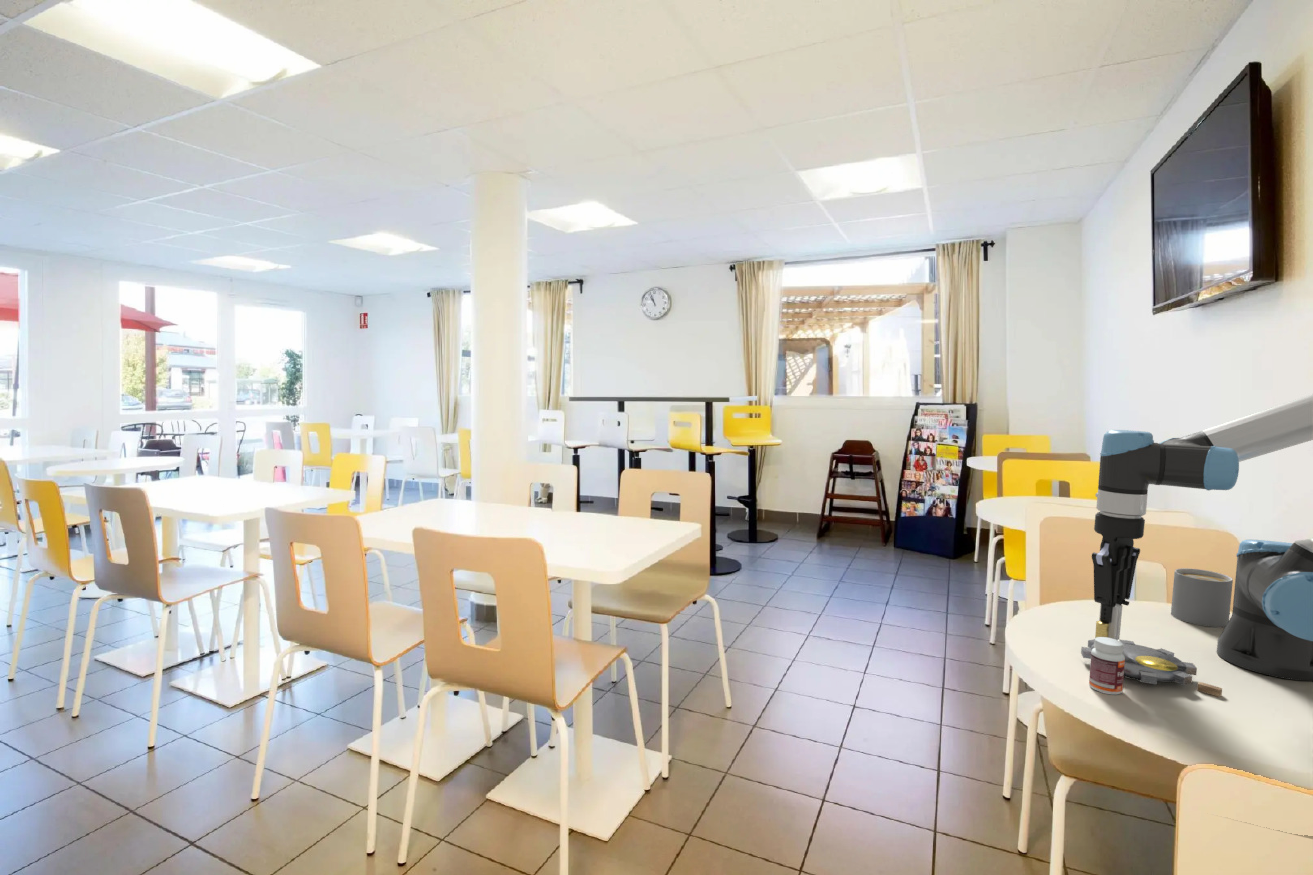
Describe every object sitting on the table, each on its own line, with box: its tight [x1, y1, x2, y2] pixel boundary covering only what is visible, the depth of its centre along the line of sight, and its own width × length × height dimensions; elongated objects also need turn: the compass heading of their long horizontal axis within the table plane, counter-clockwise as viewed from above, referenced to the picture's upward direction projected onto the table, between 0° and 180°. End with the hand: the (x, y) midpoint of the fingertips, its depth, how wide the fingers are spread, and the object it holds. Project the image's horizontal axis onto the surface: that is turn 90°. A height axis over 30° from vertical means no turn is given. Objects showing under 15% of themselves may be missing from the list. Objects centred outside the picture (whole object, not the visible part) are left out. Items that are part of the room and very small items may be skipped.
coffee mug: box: [1170, 567, 1234, 628], centre depth 148 cm, size 13×10×10 cm
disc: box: [1080, 620, 1198, 686], centre depth 120 cm, size 17×17×6 cm
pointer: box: [1196, 681, 1223, 698], centre depth 112 cm, size 3×1×1 cm, turn 38°
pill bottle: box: [1088, 637, 1125, 696], centre depth 113 cm, size 5×5×8 cm
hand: (1108, 637), depth 125 cm, fingers closed
